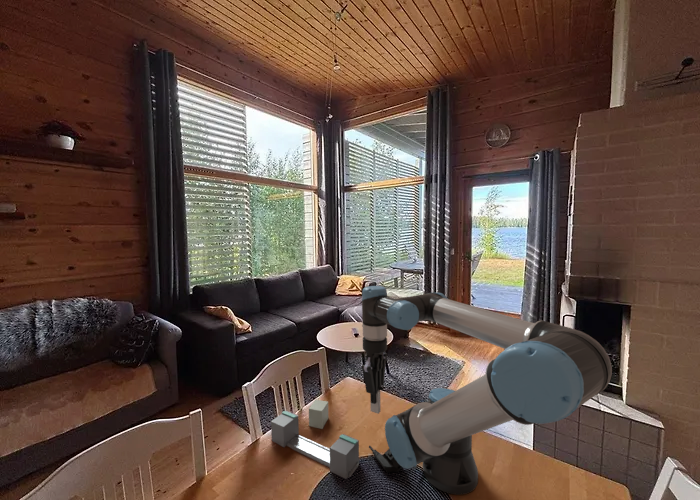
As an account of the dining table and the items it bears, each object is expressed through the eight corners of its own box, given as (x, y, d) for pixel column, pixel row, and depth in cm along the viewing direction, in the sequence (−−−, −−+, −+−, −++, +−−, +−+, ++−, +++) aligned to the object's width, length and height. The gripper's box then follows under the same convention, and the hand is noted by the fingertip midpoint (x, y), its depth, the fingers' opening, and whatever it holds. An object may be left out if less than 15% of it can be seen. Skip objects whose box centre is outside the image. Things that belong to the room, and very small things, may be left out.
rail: (358, 465, 89) (358, 461, 89) (349, 477, 85) (349, 473, 85) (283, 431, 105) (283, 427, 105) (272, 439, 101) (272, 435, 101)
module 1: (298, 435, 103) (298, 414, 102) (283, 448, 97) (283, 425, 96) (286, 429, 106) (286, 409, 105) (271, 441, 100) (271, 420, 99)
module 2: (328, 420, 111) (328, 401, 111) (322, 430, 105) (321, 411, 105) (315, 417, 112) (315, 399, 112) (309, 427, 107) (308, 408, 106)
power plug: (364, 442, 94) (387, 469, 83) (382, 424, 97) (406, 448, 86) (371, 454, 95) (394, 482, 85) (388, 436, 98) (413, 461, 88)
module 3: (358, 462, 90) (358, 438, 90) (346, 479, 84) (345, 453, 84) (343, 455, 93) (343, 432, 93) (330, 471, 87) (329, 446, 87)
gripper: (373, 329, 101) (374, 398, 102) (353, 341, 90) (354, 418, 91) (394, 332, 97) (395, 404, 98) (376, 345, 86) (376, 426, 87)
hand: (375, 411), depth 95 cm, fingers closed
